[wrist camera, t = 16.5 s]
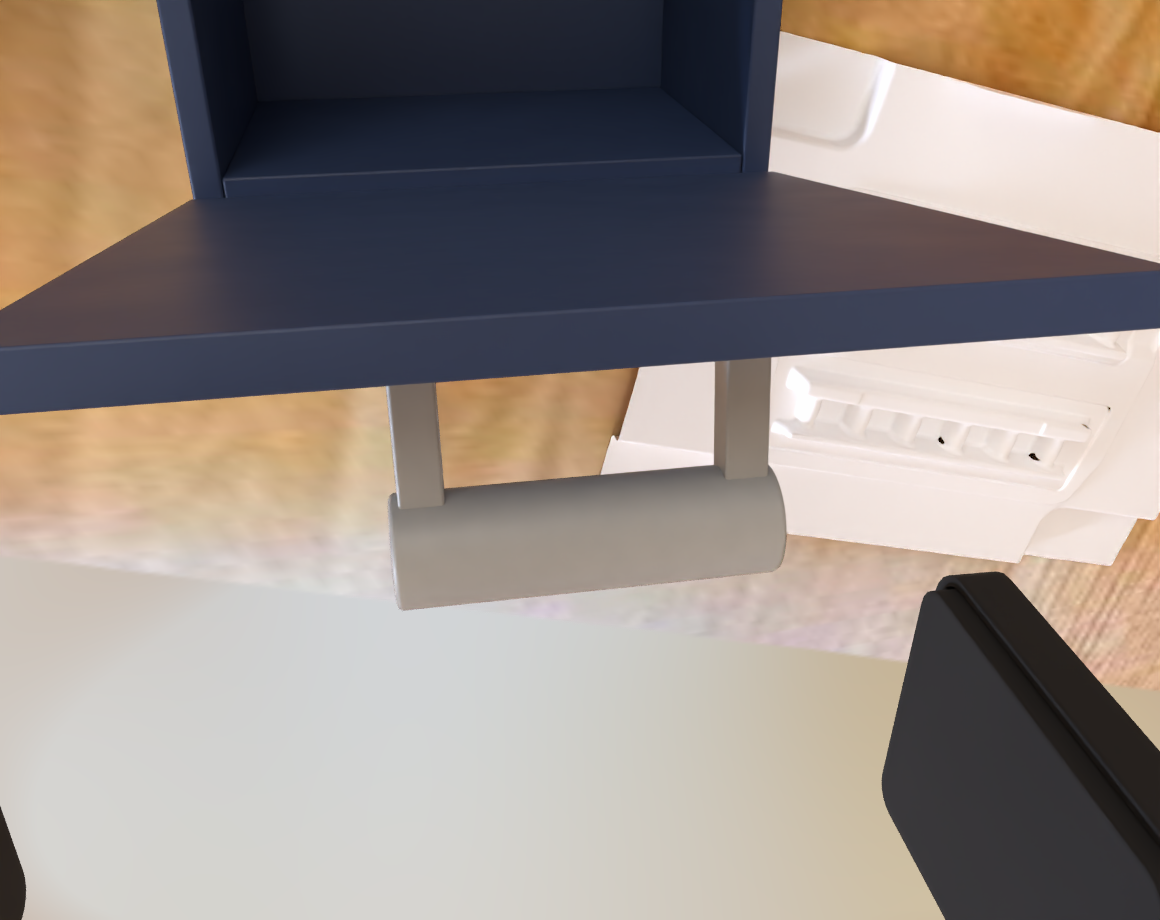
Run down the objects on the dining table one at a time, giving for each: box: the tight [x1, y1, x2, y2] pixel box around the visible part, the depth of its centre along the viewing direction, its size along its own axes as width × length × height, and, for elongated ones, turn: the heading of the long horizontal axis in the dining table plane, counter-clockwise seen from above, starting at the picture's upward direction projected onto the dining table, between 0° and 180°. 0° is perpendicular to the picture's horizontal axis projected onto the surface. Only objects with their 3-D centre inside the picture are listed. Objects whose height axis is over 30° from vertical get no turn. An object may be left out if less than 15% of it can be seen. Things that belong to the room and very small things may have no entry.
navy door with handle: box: [0, 171, 1160, 610], centre depth 21 cm, size 16×16×5 cm
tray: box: [600, 31, 1160, 566], centre depth 45 cm, size 20×28×4 cm
